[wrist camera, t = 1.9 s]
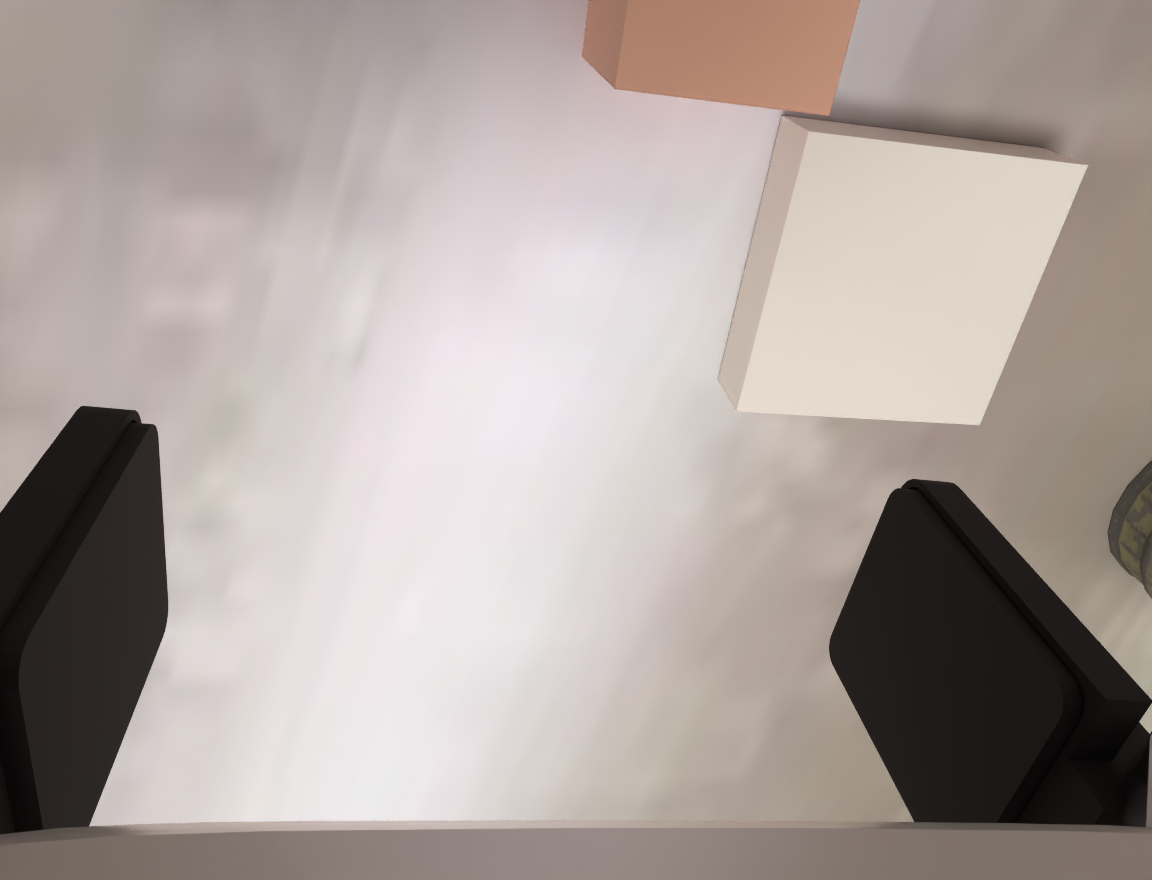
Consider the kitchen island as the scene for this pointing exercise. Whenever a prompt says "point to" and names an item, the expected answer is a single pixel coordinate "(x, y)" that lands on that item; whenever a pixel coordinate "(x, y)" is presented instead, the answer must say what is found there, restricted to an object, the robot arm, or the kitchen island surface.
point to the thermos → (1134, 529)
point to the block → (890, 271)
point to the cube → (723, 49)
